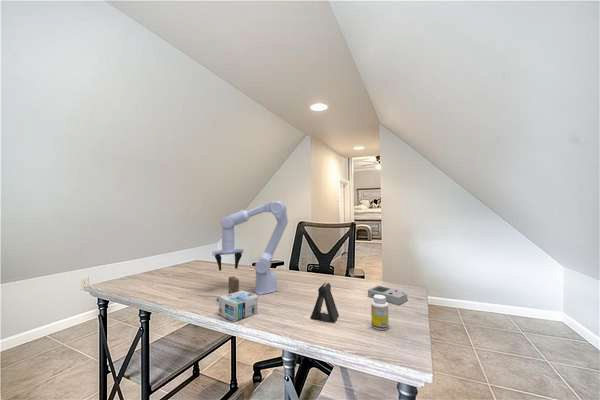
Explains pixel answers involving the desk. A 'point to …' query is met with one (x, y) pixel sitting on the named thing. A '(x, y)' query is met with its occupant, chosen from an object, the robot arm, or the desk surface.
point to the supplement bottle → (380, 312)
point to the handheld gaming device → (388, 294)
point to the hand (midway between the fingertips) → (228, 269)
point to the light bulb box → (238, 305)
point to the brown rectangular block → (233, 284)
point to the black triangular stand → (330, 305)
